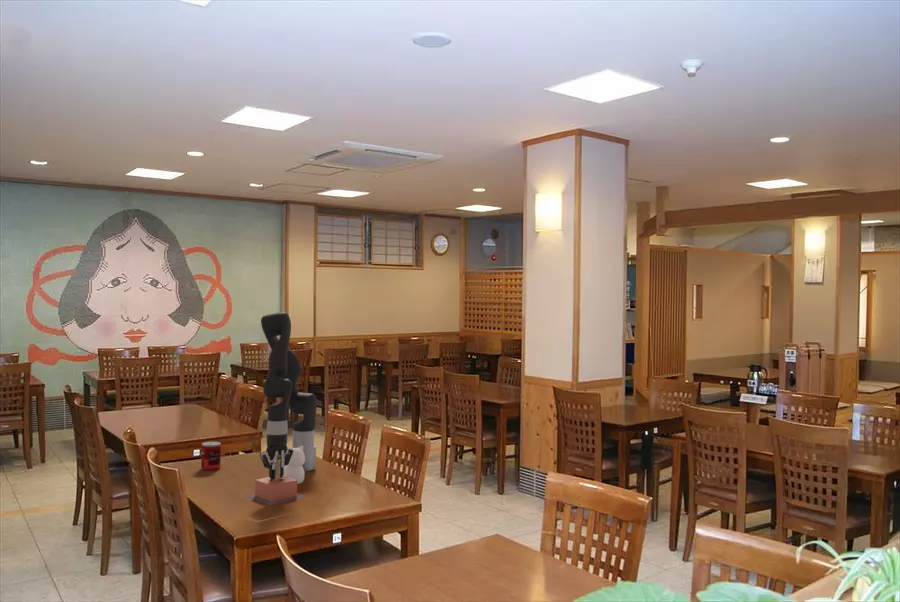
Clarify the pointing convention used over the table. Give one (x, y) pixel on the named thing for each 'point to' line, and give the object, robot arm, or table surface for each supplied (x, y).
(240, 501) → the table surface
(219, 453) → the canned food
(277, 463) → the grey beige cylinder
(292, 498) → the mat
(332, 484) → the table surface
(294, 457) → the cat figurine
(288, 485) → the pink square peg base
